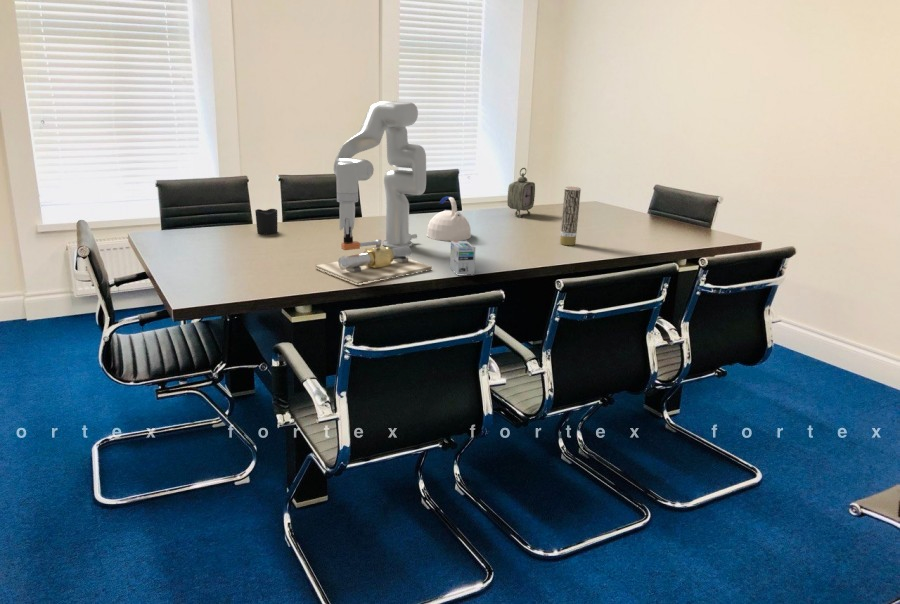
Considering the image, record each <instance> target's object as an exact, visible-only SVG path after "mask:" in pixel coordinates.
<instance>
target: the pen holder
mask: <svg viewBox="0 0 900 604" xmlns="http://www.w3.org/2000/svg"><path fill="white" fill-rule="evenodd" d="M254 210H255V221H256V230H257V233H258V234H260V235H275V234H277V233H278V209H276V208H269V209H265V210H264V209H260V208H258V209H254Z"/></svg>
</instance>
